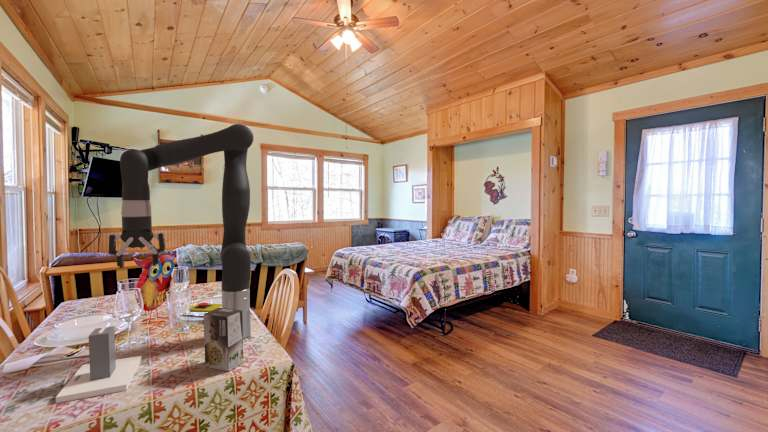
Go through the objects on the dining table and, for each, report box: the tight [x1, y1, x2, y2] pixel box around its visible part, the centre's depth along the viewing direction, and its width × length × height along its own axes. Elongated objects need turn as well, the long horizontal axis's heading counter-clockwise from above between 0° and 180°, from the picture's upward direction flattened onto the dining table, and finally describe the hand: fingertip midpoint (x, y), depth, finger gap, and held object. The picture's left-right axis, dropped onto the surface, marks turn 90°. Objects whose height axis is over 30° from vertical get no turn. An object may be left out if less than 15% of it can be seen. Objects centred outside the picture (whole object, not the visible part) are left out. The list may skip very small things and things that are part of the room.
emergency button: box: [189, 302, 222, 312], centre depth 150 cm, size 9×4×15 cm
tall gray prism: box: [88, 326, 116, 381], centre depth 95 cm, size 6×4×12 cm
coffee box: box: [203, 308, 244, 372], centre depth 103 cm, size 9×6×16 cm
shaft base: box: [55, 355, 142, 404], centre depth 95 cm, size 18×14×2 cm
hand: (138, 266), depth 109 cm, fingers open, 8 cm apart
